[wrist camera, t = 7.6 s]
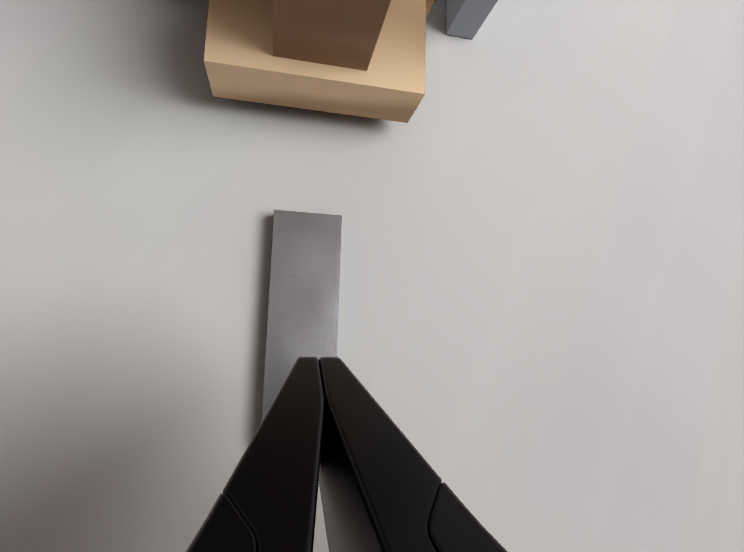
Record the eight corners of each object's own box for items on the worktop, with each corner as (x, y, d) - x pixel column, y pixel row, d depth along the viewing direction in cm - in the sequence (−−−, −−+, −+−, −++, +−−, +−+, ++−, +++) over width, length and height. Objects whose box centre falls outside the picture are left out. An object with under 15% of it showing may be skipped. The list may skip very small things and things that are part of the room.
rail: (331, 441, 15) (333, 445, 15) (260, 443, 15) (259, 447, 14) (339, 220, 16) (341, 215, 16) (274, 214, 16) (274, 209, 15)
